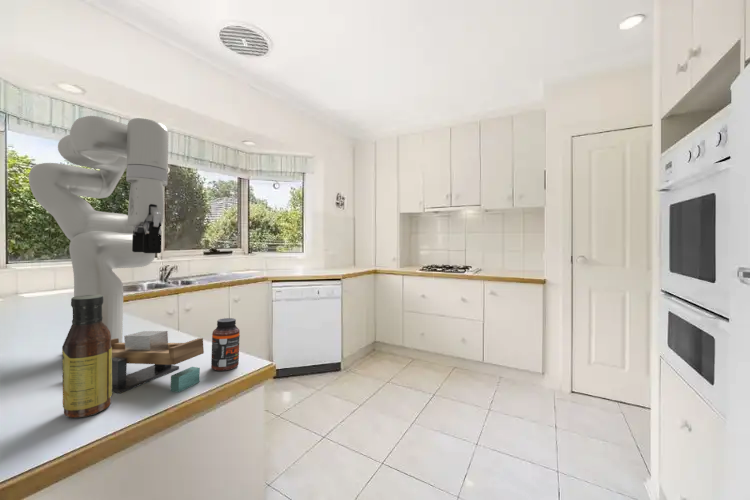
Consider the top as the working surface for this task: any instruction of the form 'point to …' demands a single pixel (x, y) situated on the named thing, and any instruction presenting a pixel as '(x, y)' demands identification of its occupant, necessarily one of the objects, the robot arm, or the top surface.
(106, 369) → the sauce bottle
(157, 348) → the rider
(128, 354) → the beam
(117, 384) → the fulcrum
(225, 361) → the supplement bottle
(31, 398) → the top surface
